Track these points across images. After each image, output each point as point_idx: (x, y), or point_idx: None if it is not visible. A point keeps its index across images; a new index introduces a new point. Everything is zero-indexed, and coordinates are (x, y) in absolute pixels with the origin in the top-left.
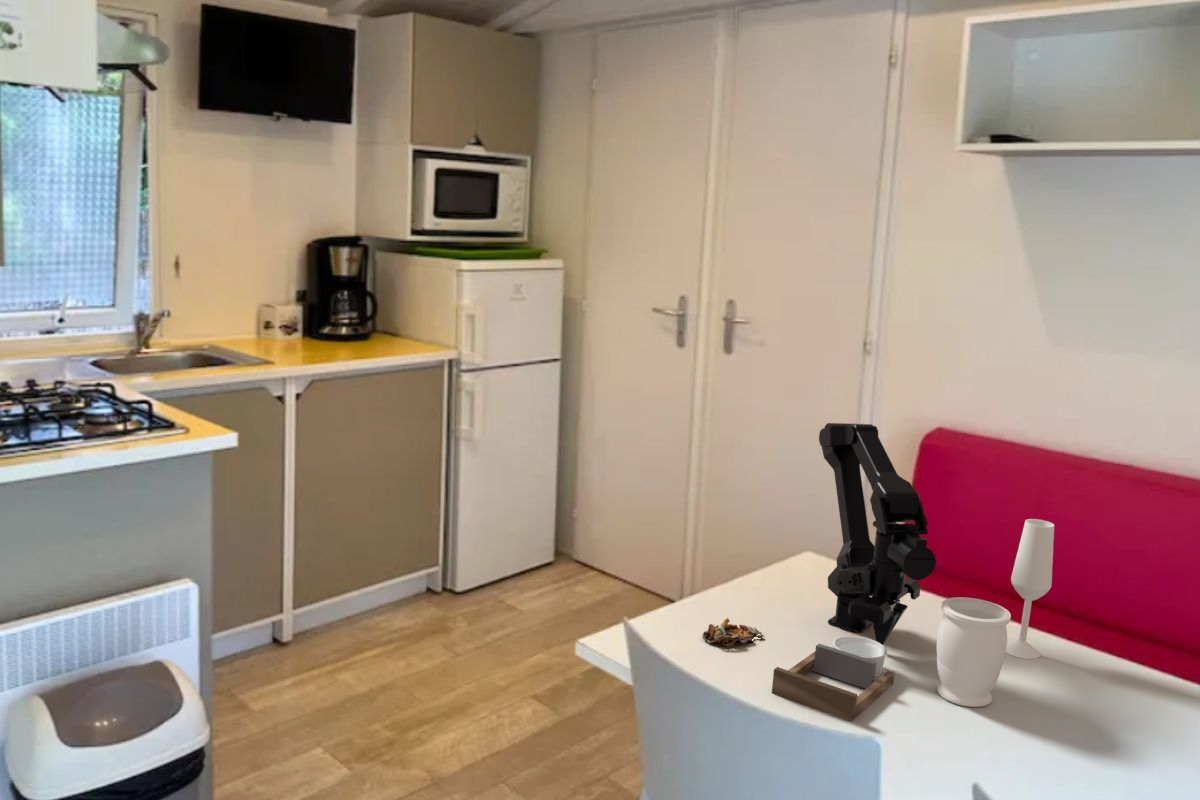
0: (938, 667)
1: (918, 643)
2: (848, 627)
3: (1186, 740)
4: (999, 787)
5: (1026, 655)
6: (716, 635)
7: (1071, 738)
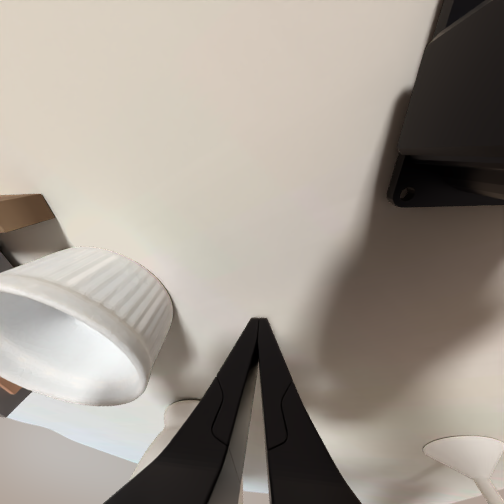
0: (142, 467)
1: (400, 349)
2: (398, 146)
3: None
4: (67, 437)
5: (432, 457)
6: None
7: None
